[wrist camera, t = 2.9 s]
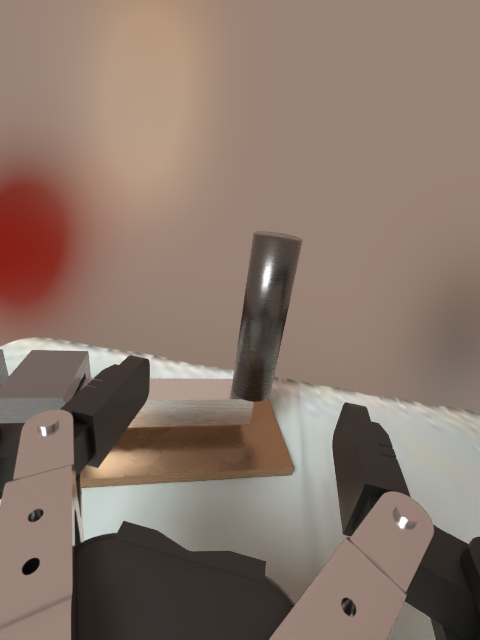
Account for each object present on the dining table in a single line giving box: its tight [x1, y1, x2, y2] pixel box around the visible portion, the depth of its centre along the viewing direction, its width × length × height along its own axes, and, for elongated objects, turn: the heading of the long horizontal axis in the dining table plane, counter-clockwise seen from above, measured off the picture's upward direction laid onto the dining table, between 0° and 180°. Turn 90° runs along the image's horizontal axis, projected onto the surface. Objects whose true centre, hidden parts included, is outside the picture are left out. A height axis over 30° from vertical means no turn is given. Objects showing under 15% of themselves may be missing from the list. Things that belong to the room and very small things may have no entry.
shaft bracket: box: [0, 349, 294, 488], centre depth 23 cm, size 28×9×6 cm, turn 99°
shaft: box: [73, 231, 303, 428], centre depth 21 cm, size 17×3×15 cm, turn 99°
